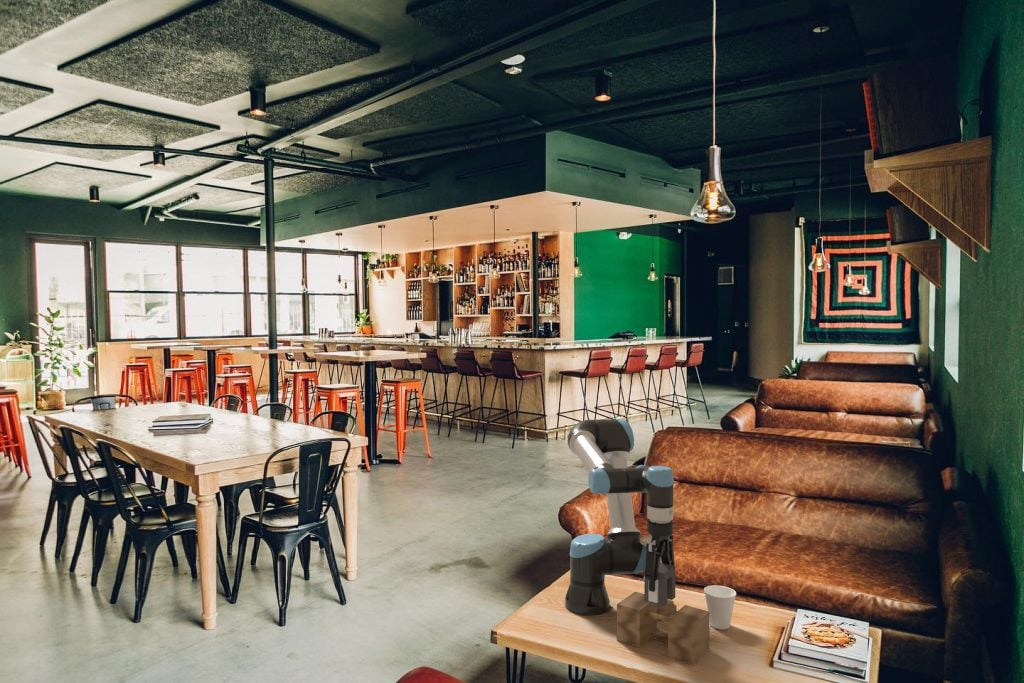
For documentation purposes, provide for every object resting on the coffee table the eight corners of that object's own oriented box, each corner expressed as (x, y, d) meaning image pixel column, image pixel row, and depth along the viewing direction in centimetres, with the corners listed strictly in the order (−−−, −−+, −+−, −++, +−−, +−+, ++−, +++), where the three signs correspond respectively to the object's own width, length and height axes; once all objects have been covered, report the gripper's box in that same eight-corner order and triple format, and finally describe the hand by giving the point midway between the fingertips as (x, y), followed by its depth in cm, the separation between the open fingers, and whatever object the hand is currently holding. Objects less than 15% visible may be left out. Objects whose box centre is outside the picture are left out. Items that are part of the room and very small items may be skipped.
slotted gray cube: (644, 601, 188) (644, 569, 188) (656, 592, 195) (656, 561, 195) (663, 606, 185) (663, 573, 185) (675, 597, 191) (675, 565, 191)
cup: (738, 634, 198) (738, 598, 198) (704, 631, 200) (705, 596, 200) (734, 620, 208) (734, 586, 208) (702, 617, 210) (702, 584, 210)
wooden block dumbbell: (616, 640, 194) (617, 603, 194) (635, 626, 204) (635, 591, 203) (693, 665, 179) (693, 625, 179) (709, 648, 189) (709, 611, 189)
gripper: (656, 530, 179) (656, 611, 179) (686, 514, 196) (686, 588, 196) (632, 525, 184) (631, 605, 184) (663, 510, 200) (663, 583, 200)
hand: (659, 596), depth 190 cm, fingers closed on slotted gray cube, 8 cm apart
